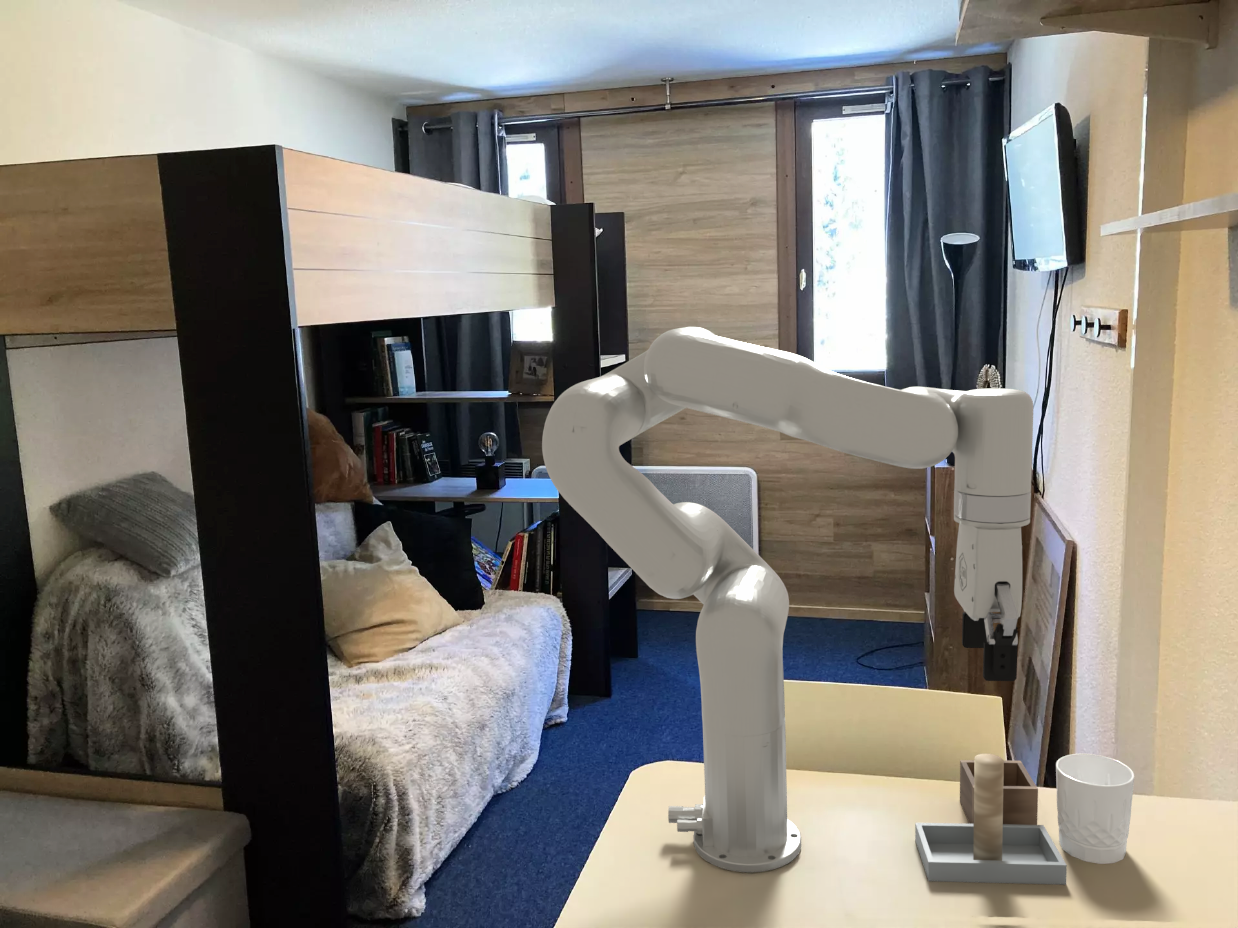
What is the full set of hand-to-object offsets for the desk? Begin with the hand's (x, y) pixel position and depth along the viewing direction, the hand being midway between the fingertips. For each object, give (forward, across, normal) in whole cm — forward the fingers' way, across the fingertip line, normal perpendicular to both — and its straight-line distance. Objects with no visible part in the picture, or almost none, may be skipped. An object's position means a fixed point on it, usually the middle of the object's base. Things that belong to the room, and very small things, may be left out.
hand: (987, 662), depth 106 cm
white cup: (+24, -3, +13) cm, 27 cm away
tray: (+24, 0, 0) cm, 24 cm away
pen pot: (+24, -10, +4) cm, 26 cm away
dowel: (+23, 0, 0) cm, 23 cm away
